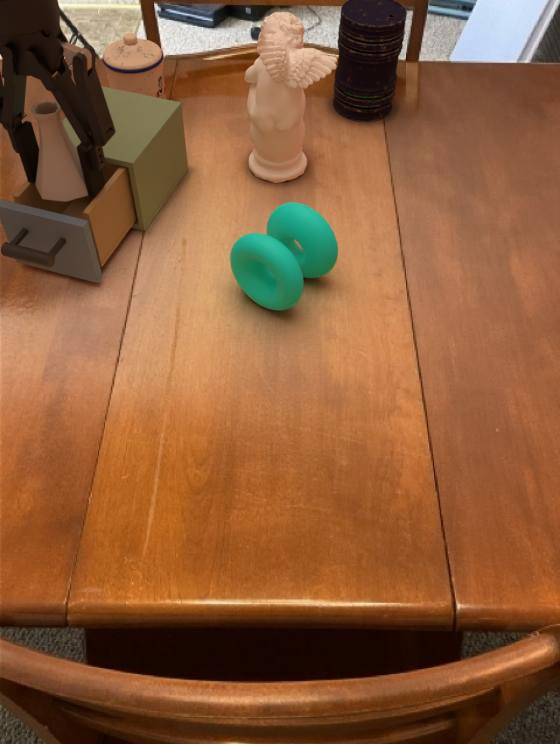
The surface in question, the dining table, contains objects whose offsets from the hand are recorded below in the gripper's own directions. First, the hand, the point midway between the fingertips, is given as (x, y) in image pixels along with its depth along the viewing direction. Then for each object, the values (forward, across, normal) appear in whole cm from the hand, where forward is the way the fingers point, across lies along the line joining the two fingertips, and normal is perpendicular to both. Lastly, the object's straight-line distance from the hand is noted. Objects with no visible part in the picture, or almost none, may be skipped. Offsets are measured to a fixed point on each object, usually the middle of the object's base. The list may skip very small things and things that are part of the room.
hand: (66, 182), depth 81 cm
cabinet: (+10, 0, +12) cm, 16 cm away
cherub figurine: (+10, +20, +24) cm, 33 cm away
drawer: (+9, 0, -2) cm, 9 cm away
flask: (+1, 0, 0) cm, 1 cm away
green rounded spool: (+10, +27, +2) cm, 29 cm away
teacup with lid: (+10, -8, +34) cm, 36 cm away
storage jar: (+10, +26, +46) cm, 53 cm away
